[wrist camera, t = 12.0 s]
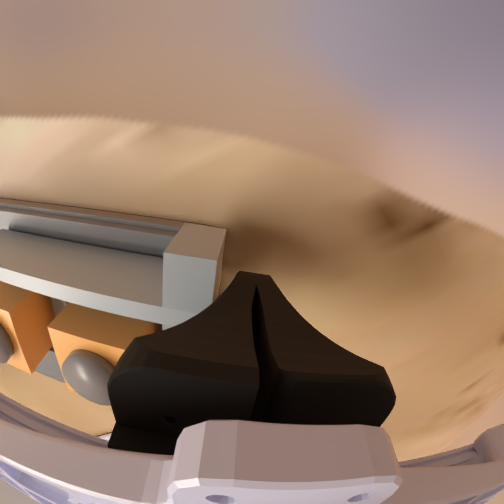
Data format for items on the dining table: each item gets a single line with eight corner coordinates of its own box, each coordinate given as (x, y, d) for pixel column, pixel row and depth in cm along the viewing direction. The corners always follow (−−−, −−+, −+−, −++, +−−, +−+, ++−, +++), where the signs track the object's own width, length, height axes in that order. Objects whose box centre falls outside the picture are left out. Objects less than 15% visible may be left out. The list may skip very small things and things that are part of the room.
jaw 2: (161, 295, 14) (128, 362, 9) (162, 356, 15) (139, 422, 11) (88, 280, 13) (40, 335, 9) (97, 340, 15) (63, 397, 11)
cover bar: (228, 223, 12) (216, 261, 9) (219, 288, 13) (208, 340, 10) (-1, 194, 11) (-46, 215, 8) (5, 246, 12) (-35, 273, 9)
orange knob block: (52, 272, 13) (1, 319, 9) (64, 330, 15) (26, 381, 11) (5, 259, 13) (-44, 297, 9) (18, 314, 15) (-20, 357, 10)
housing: (210, 225, 13) (201, 245, 11) (195, 409, 18) (190, 435, 16) (-9, 197, 12) (-34, 208, 10) (28, 359, 18) (15, 378, 15)
